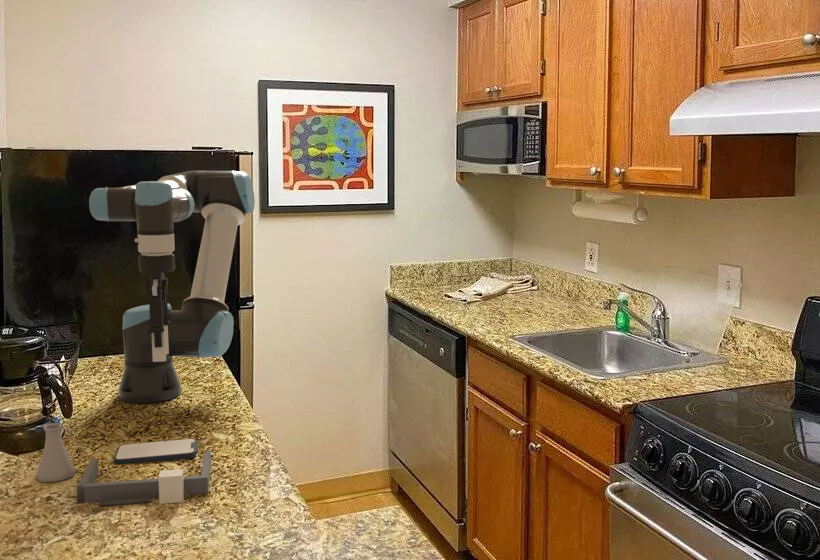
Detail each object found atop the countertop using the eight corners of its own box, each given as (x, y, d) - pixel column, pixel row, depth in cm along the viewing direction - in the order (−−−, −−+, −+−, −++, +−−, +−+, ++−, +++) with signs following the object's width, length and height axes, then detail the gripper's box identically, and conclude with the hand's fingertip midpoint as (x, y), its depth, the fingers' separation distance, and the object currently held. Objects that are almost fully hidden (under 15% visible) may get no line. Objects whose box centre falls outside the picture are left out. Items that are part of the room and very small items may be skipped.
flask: (35, 486, 143) (32, 435, 141) (34, 472, 149) (31, 422, 148) (78, 479, 146) (74, 429, 145) (74, 465, 152) (71, 417, 151)
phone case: (112, 468, 153) (195, 460, 156) (112, 460, 153) (195, 452, 156) (119, 451, 161) (197, 444, 165) (118, 444, 161) (197, 437, 165)
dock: (92, 473, 149) (90, 448, 148) (211, 464, 153) (210, 440, 153) (74, 510, 133) (72, 483, 132) (207, 500, 138) (206, 473, 137)
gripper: (143, 248, 174) (148, 348, 178) (132, 259, 156) (137, 369, 160) (178, 247, 176) (181, 346, 179) (170, 258, 158) (174, 368, 162)
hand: (160, 357), depth 170 cm, fingers open, 5 cm apart
